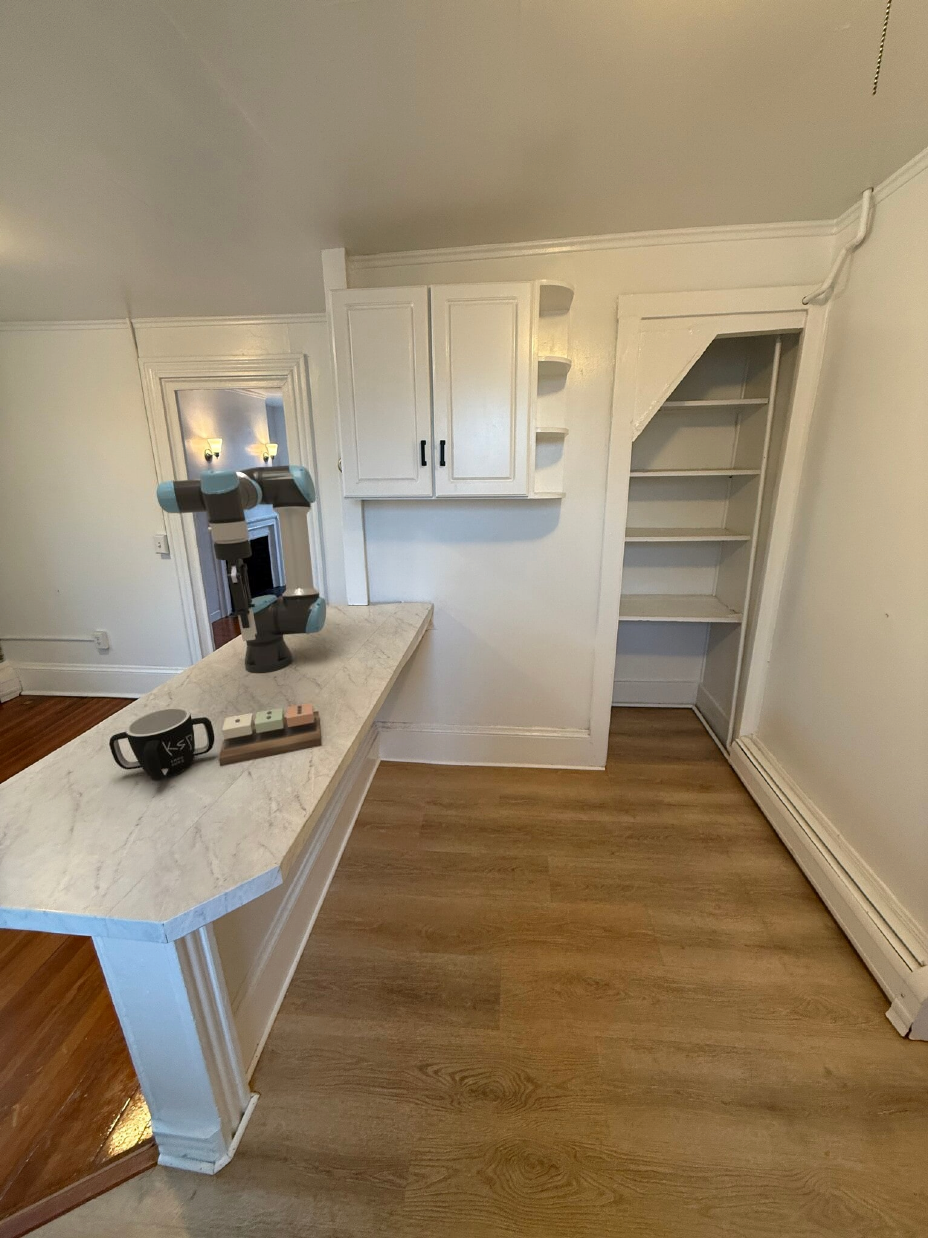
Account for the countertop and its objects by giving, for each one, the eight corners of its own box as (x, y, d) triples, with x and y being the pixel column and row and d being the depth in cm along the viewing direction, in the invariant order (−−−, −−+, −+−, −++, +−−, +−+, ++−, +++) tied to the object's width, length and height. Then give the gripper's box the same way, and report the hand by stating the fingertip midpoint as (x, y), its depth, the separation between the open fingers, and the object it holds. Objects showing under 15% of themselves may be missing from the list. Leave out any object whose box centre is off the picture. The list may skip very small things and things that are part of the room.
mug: (151, 800, 96) (136, 749, 92) (114, 776, 104) (99, 728, 101) (225, 758, 109) (215, 712, 106) (187, 740, 117) (176, 696, 114)
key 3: (288, 715, 118) (286, 705, 118) (313, 710, 120) (311, 701, 119) (287, 727, 113) (286, 717, 112) (314, 722, 115) (312, 712, 114)
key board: (228, 734, 119) (227, 727, 118) (319, 717, 125) (318, 710, 125) (220, 766, 106) (218, 758, 106) (321, 745, 113) (320, 737, 112)
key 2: (258, 720, 116) (256, 711, 116) (284, 716, 118) (282, 706, 117) (256, 733, 111) (254, 723, 110) (283, 728, 113) (281, 718, 112)
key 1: (227, 726, 114) (225, 716, 114) (254, 721, 116) (252, 712, 115) (224, 739, 109) (221, 729, 108) (251, 734, 111) (249, 724, 110)
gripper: (218, 537, 114) (237, 628, 121) (206, 547, 99) (228, 651, 106) (252, 534, 116) (268, 624, 123) (245, 544, 101) (264, 646, 109)
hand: (250, 636), depth 115 cm, fingers open, 3 cm apart
